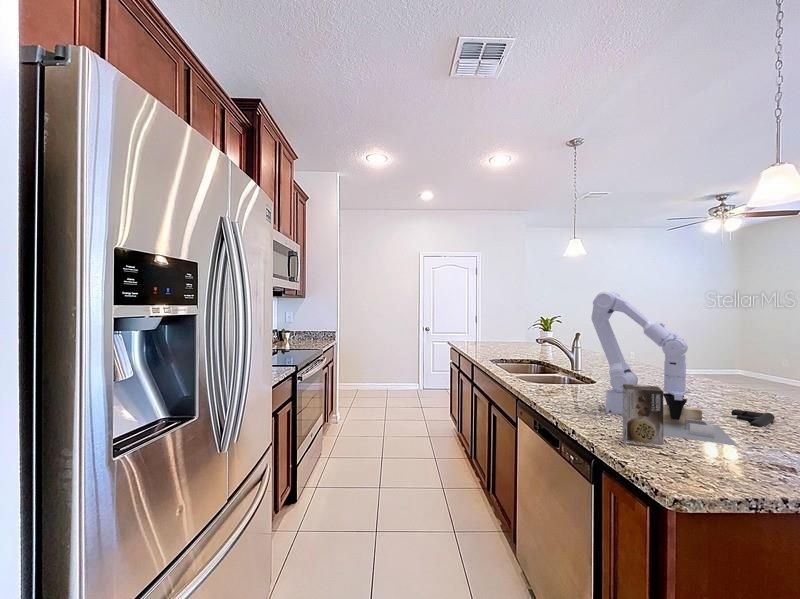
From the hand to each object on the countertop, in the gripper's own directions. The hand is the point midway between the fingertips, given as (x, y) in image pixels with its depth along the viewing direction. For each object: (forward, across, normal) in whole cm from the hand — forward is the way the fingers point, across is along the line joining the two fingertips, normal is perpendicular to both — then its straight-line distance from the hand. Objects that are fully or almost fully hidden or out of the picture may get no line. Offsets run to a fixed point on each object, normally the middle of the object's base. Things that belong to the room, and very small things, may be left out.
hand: (674, 417), depth 129 cm
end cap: (+1, -9, -5) cm, 10 cm away
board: (+3, -7, -2) cm, 8 cm away
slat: (+1, 0, 0) cm, 1 cm away
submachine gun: (+3, +19, -22) cm, 29 cm away
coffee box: (+3, -23, +11) cm, 26 cm away
